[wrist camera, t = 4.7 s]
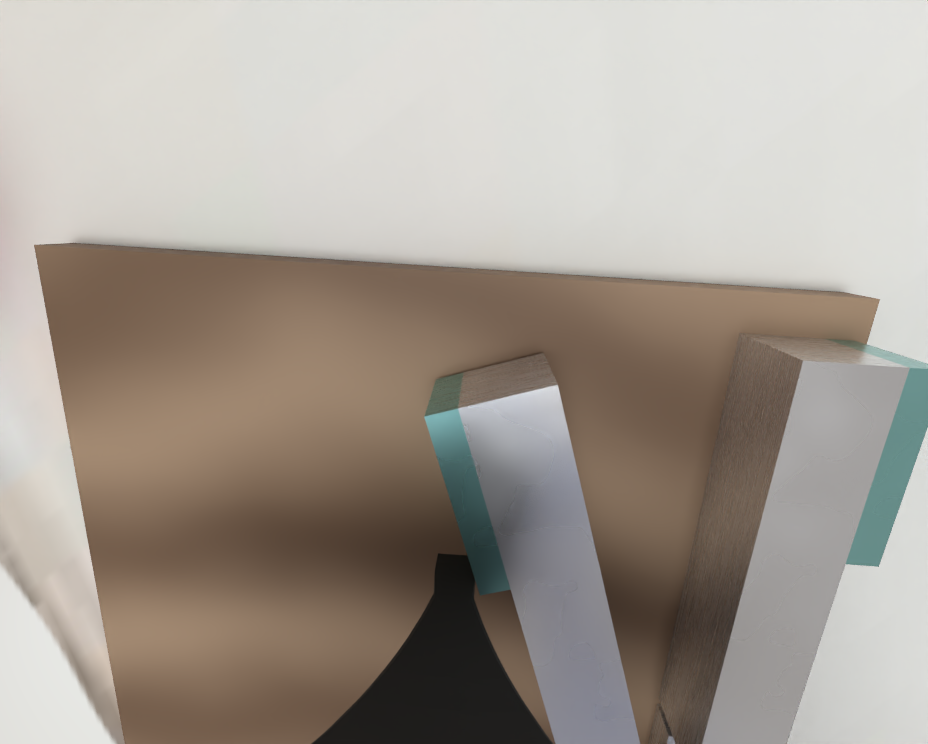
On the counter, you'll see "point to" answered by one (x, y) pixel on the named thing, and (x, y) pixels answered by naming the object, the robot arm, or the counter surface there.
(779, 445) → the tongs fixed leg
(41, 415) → the counter surface
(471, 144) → the counter surface
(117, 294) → the walnut board
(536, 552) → the bar
